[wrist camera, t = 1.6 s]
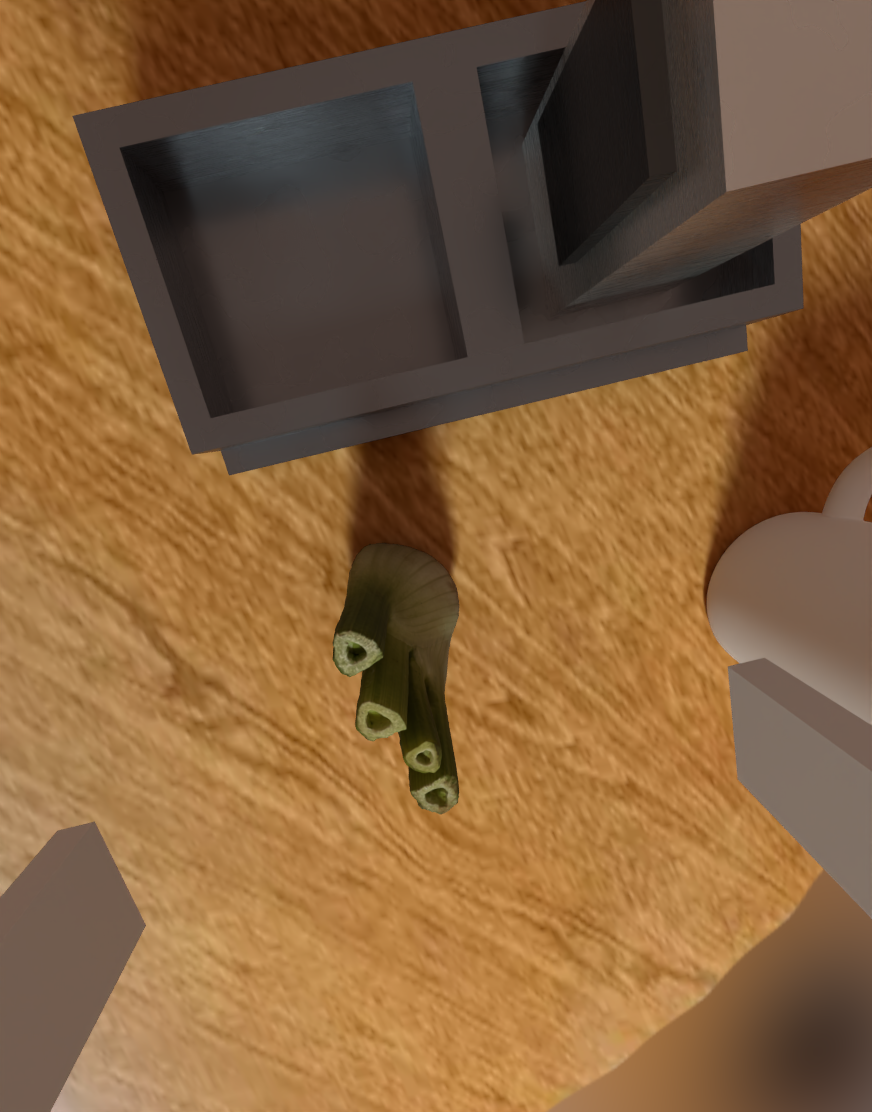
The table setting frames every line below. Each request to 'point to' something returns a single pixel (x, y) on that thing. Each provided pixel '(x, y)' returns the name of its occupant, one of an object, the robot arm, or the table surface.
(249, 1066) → the table surface
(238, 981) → the table surface
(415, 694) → the fennel bulb
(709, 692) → the table surface
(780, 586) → the mug
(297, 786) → the table surface
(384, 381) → the grey compartment caddy
